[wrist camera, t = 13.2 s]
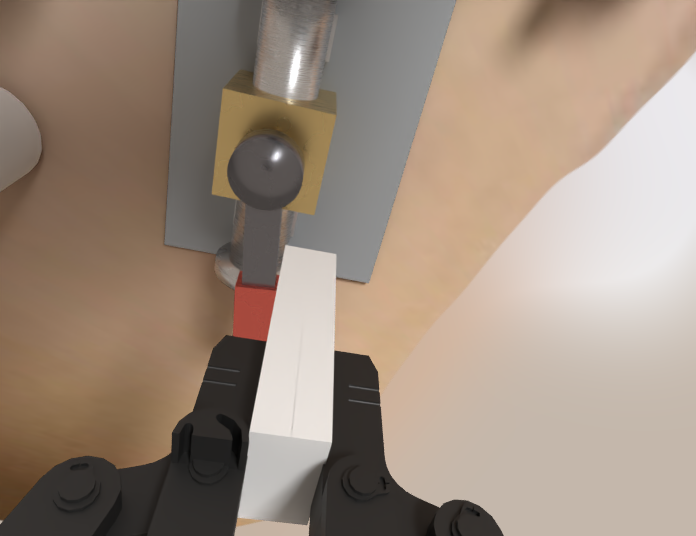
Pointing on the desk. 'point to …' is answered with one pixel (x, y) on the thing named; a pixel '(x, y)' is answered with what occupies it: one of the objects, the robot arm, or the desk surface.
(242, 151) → the lever
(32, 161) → the can
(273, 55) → the valve
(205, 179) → the mat
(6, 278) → the desk surface
